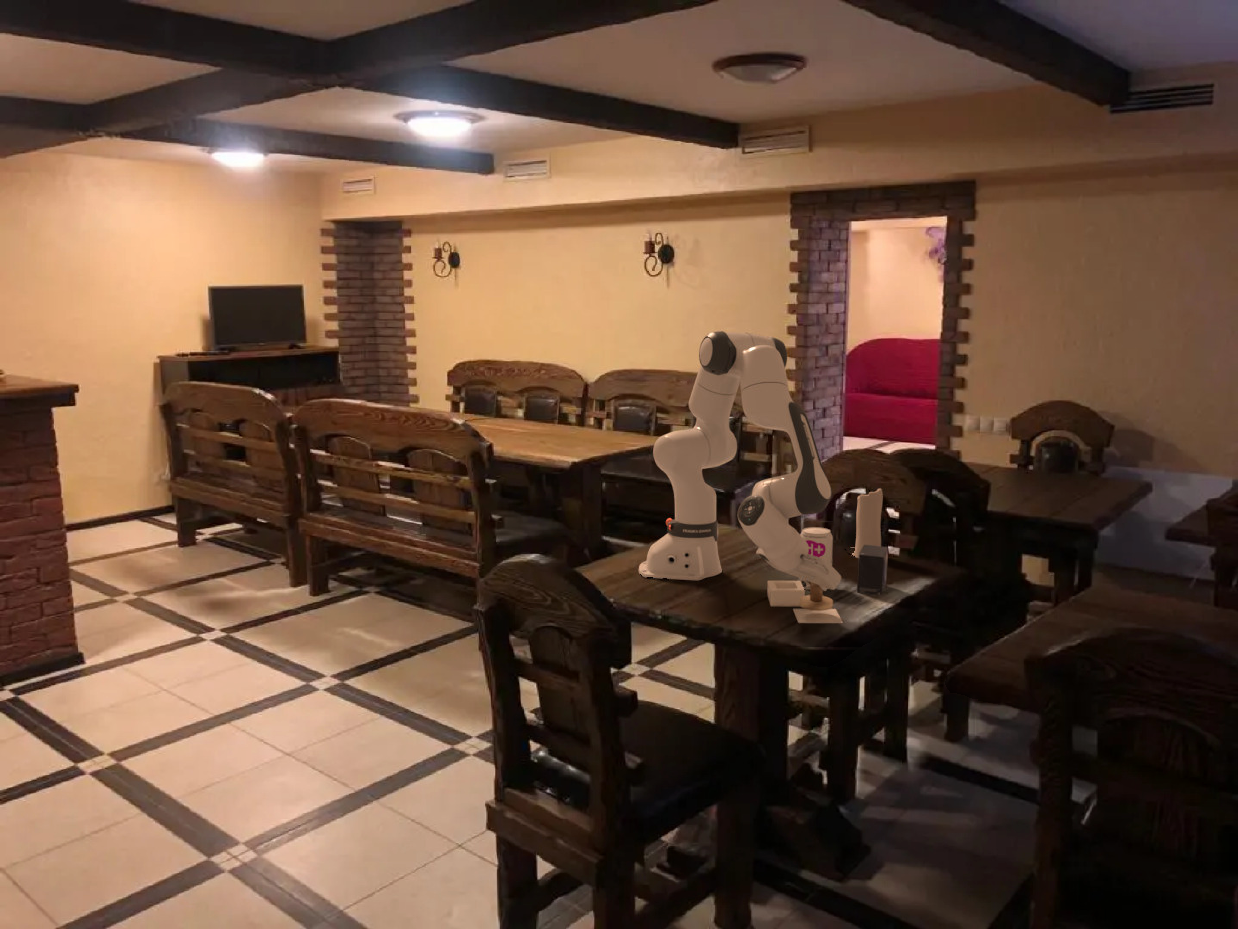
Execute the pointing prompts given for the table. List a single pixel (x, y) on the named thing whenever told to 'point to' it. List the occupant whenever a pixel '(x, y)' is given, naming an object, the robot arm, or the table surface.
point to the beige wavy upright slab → (868, 520)
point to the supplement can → (818, 545)
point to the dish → (785, 593)
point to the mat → (817, 616)
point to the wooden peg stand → (815, 599)
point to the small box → (872, 569)
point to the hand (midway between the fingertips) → (818, 585)
